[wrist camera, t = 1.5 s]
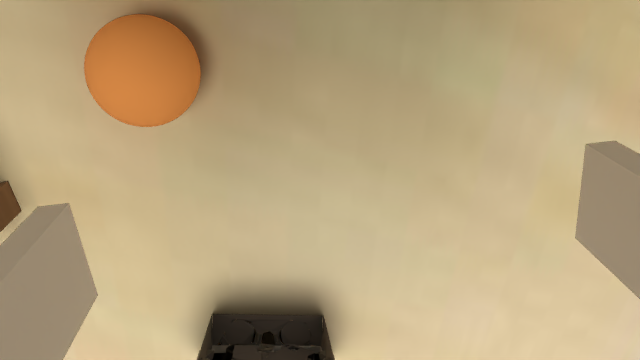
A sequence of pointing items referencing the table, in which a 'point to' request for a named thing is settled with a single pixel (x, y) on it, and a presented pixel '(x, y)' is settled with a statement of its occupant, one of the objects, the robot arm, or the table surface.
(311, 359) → the electrical switch
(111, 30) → the ball
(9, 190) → the brown bridge block
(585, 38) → the table surface
